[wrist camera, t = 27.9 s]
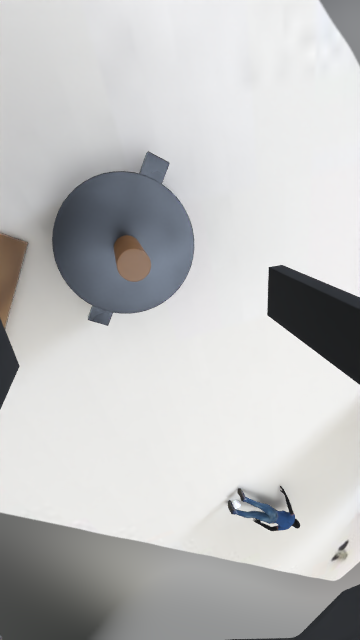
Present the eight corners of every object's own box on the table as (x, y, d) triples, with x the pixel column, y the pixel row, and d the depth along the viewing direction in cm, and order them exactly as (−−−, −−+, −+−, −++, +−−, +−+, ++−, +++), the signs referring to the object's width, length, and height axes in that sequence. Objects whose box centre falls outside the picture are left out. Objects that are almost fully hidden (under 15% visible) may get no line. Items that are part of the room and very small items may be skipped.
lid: (37, 285, 32) (16, 317, 24) (78, 143, 27) (69, 124, 20) (162, 324, 37) (178, 360, 29) (212, 209, 33) (246, 215, 25)
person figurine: (215, 504, 65) (278, 526, 70) (220, 525, 61) (286, 546, 66) (242, 469, 63) (306, 494, 67) (249, 488, 58) (317, 513, 63)
